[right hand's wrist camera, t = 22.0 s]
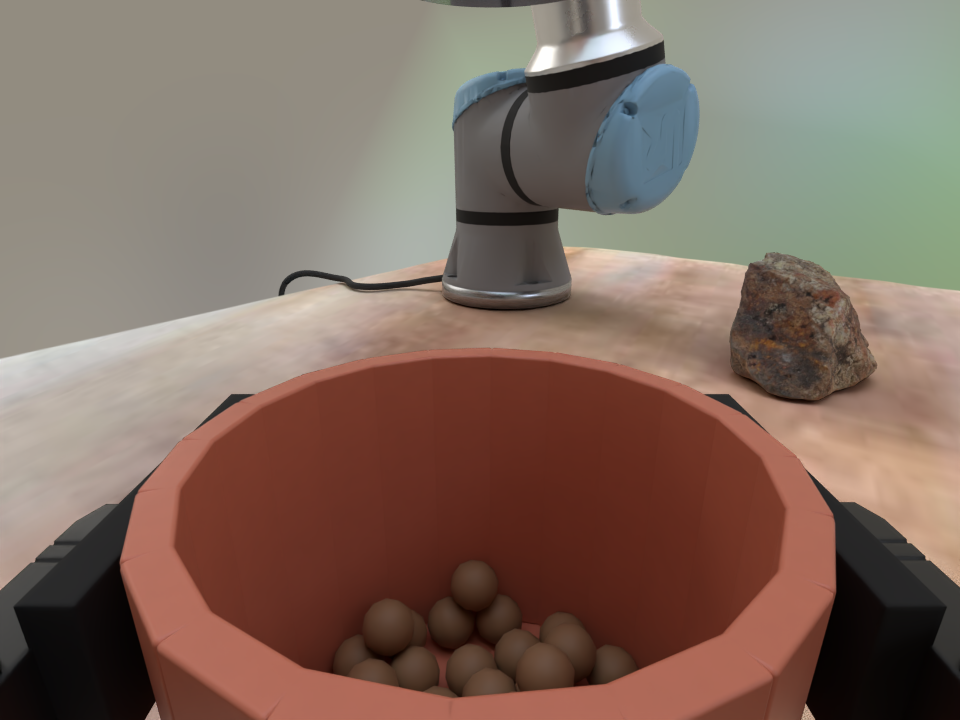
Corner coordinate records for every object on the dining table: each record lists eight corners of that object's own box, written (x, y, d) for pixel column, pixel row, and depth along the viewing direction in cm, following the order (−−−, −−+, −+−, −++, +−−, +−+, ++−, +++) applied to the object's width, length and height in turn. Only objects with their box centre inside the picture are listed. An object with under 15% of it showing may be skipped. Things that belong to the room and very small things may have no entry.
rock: (687, 382, 43) (828, 426, 36) (696, 273, 40) (854, 298, 33) (772, 330, 52) (901, 357, 45) (786, 236, 48) (927, 250, 41)
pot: (757, 721, 14) (833, 401, 11) (656, 1524, 6) (848, 1137, 3) (425, 576, 18) (415, 325, 16) (112, 905, 10) (-35, 514, 7)
